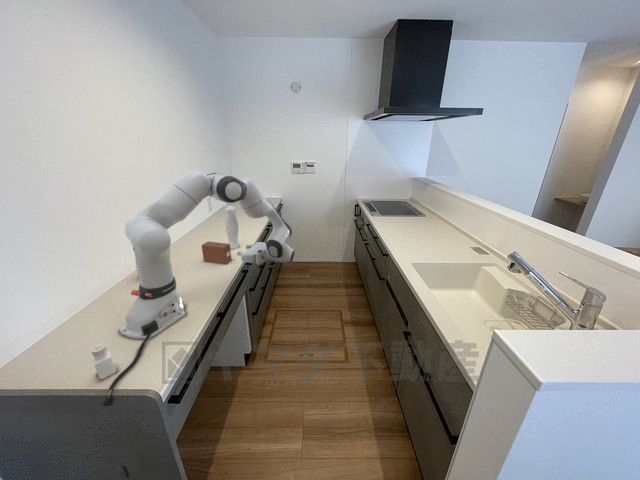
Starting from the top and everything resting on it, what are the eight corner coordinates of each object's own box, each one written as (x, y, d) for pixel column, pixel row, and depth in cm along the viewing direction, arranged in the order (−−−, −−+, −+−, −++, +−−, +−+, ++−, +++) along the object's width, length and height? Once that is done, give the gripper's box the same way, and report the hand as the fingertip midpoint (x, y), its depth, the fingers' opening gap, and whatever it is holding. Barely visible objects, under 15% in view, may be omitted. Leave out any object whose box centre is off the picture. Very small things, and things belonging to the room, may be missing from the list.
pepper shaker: (100, 380, 76) (90, 355, 72) (97, 373, 78) (88, 348, 75) (117, 372, 79) (108, 347, 75) (113, 365, 81) (105, 340, 78)
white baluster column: (230, 250, 166) (225, 206, 156) (225, 246, 171) (220, 204, 161) (241, 247, 171) (238, 205, 160) (236, 243, 176) (233, 202, 166)
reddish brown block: (226, 264, 147) (224, 248, 143) (203, 261, 150) (201, 245, 146) (232, 260, 152) (230, 244, 149) (210, 256, 155) (208, 241, 152)
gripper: (272, 240, 150) (250, 238, 153) (256, 254, 132) (231, 251, 135) (273, 250, 153) (251, 248, 155) (257, 266, 134) (233, 262, 137)
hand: (242, 250), depth 145 cm, fingers open, 8 cm apart
